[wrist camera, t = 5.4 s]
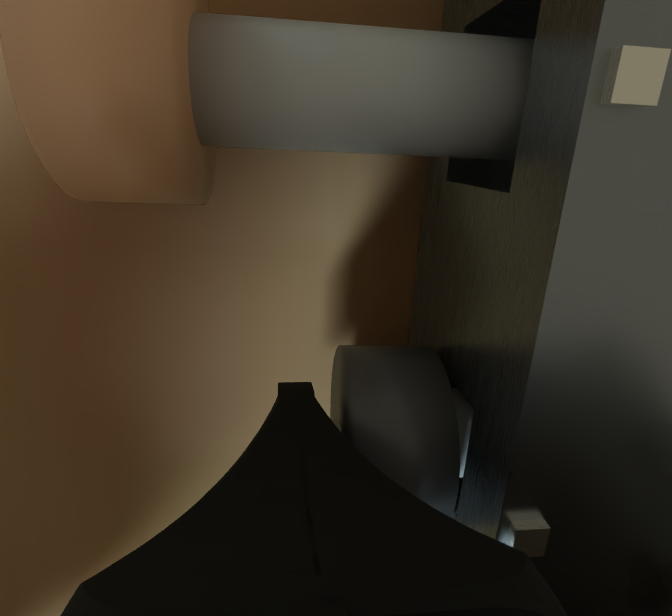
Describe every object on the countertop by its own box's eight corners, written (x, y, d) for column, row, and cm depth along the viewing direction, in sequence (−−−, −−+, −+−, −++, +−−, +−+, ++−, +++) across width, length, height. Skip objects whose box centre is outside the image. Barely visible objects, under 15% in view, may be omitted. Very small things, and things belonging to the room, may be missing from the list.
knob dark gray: (322, 453, 13) (339, 580, 9) (328, 319, 11) (350, 403, 8) (607, 444, 14) (729, 555, 10) (642, 320, 12) (797, 394, 9)
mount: (395, 470, 14) (471, 688, 9) (451, -63, 10) (692, -359, 4) (543, 465, 15) (707, 664, 9) (660, -40, 11) (1130, -274, 5)
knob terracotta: (118, 190, 10) (19, 216, 6) (94, -28, 9) (-49, -164, 5) (496, 202, 11) (609, 231, 7) (527, 10, 10) (683, -78, 6)
